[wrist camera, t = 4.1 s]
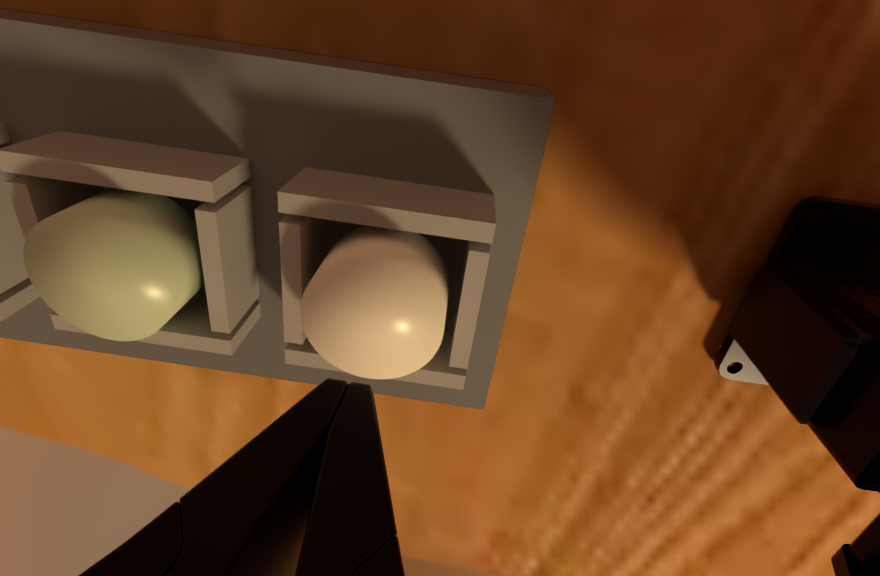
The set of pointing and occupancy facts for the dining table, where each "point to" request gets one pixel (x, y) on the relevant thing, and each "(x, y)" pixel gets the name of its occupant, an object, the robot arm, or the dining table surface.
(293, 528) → the robot arm
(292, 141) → the rack
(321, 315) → the cream button
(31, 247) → the sage button
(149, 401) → the dining table surface
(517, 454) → the dining table surface
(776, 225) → the dining table surface
